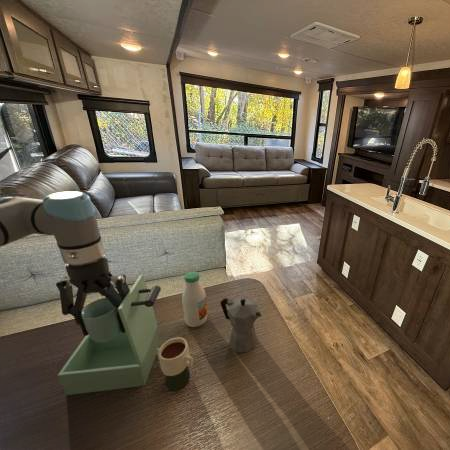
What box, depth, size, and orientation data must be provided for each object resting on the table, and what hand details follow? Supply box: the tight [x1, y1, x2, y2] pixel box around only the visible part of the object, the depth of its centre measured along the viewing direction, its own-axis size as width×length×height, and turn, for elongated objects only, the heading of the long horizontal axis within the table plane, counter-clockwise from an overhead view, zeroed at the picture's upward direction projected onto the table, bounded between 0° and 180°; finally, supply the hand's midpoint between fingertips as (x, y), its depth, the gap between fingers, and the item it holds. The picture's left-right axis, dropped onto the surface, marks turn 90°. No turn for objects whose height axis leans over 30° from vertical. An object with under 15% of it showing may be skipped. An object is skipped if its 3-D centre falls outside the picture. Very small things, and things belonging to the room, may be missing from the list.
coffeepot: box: [219, 297, 262, 353], centre depth 81 cm, size 15×9×18 cm, turn 67°
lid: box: [118, 274, 162, 365], centre depth 68 cm, size 19×14×6 cm
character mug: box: [156, 337, 194, 391], centre depth 68 cm, size 11×7×13 cm, turn 77°
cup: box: [81, 297, 122, 343], centre depth 65 cm, size 8×8×10 cm
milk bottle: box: [181, 271, 208, 328], centre depth 87 cm, size 8×8×20 cm
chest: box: [57, 328, 161, 396], centre depth 71 cm, size 19×14×8 cm
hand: (107, 330), depth 67 cm, fingers closed on cup, 8 cm apart
